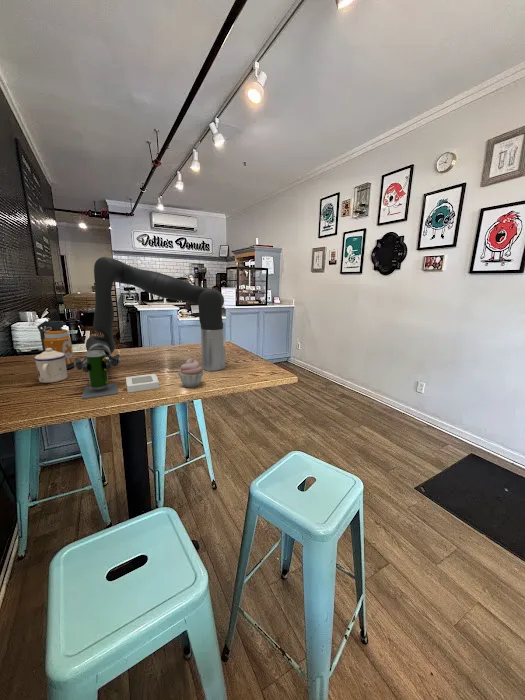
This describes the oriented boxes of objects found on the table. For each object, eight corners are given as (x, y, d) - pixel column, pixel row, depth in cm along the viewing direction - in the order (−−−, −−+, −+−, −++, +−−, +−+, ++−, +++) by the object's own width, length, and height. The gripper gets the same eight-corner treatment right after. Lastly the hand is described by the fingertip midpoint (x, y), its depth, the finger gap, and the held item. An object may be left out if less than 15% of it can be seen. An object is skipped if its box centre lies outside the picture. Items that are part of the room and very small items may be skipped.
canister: (65, 371, 113) (57, 322, 108) (37, 371, 113) (28, 321, 108) (79, 365, 122) (73, 319, 117) (54, 364, 122) (46, 318, 117)
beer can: (90, 390, 91) (86, 354, 88) (89, 385, 95) (85, 350, 92) (109, 387, 93) (105, 352, 91) (108, 382, 98) (104, 349, 95)
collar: (155, 379, 107) (155, 373, 106) (159, 388, 98) (159, 382, 98) (126, 383, 102) (125, 377, 102) (127, 392, 94) (127, 386, 93)
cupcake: (191, 391, 96) (190, 363, 94) (172, 385, 101) (171, 358, 99) (210, 383, 104) (209, 357, 101) (192, 378, 109) (191, 353, 106)
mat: (117, 384, 101) (117, 383, 101) (117, 394, 92) (117, 393, 92) (84, 388, 97) (84, 387, 96) (81, 399, 88) (81, 398, 88)
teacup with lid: (43, 376, 108) (38, 346, 105) (71, 374, 111) (67, 345, 108) (30, 387, 97) (24, 354, 94) (61, 384, 100) (56, 352, 97)
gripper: (74, 346, 101) (68, 359, 86) (119, 343, 107) (120, 354, 92) (77, 367, 102) (71, 382, 88) (121, 362, 109) (123, 376, 94)
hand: (97, 368), depth 90 cm, fingers closed on beer can, 5 cm apart
